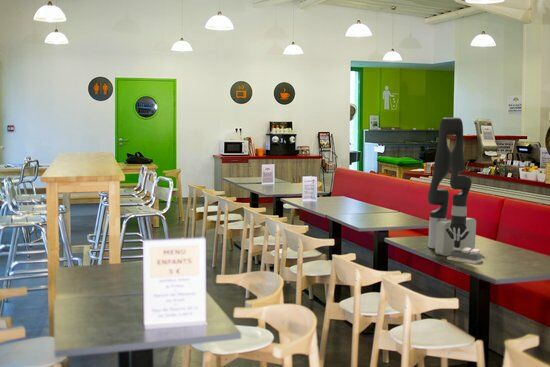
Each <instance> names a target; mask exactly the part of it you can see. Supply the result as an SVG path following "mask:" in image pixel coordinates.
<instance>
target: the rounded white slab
mask: <svg viewBox="0 0 550 367" xmlns="http://www.w3.org/2000/svg"><path fill="white" fill-rule="evenodd" d="M450 225H451V218H450V219H447V220H443V221H439V222H438V223H437V226H436V242H435V249H434V252H435V254H436V255H439V256H445V257H446V256H447V257H449V256H451V252H452V251H454V250H455V249H453V247H455V246H454V239H451V238H450V236H449V234H448V233H447V231H446V229H447V228H449V227H450ZM466 227H467V230H468V231H470V234H469V235H468V236H467V237H466V238H465V239H464V240H461V243H460V247H459V248H463V249H464V248H465V247H467V248H471V250H473V249H476V248H475V246H476V232H477V230H476V229H477V220H476V218H472V217H466ZM451 232H452V233H453V231H452V230H451ZM464 234H465V231H464V232H463V233H462V236H463V235H464ZM462 236H461V237H462ZM459 251H462V250H459Z"/></svg>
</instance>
